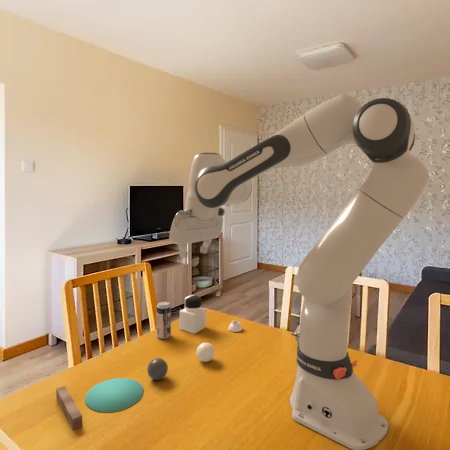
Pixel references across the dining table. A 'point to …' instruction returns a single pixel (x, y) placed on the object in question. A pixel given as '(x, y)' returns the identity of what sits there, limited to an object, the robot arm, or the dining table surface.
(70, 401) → the walnut rail
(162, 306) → the beer can
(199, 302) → the medicine bottle
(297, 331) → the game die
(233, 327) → the white jar
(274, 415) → the dining table surface
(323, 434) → the robot arm
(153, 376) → the dark grey ball
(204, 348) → the cue ball
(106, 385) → the teal mark
